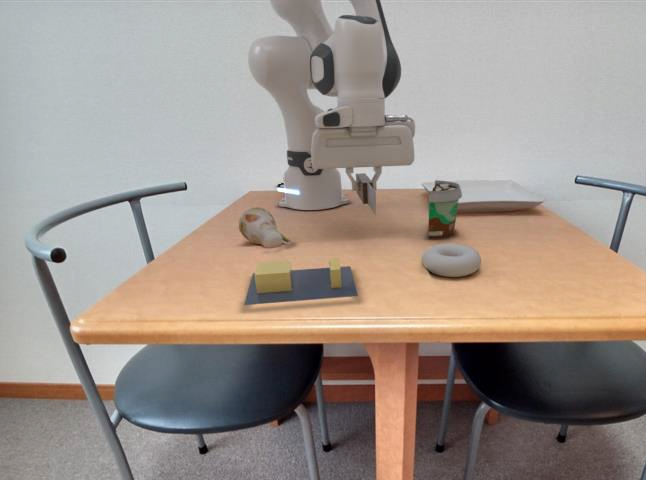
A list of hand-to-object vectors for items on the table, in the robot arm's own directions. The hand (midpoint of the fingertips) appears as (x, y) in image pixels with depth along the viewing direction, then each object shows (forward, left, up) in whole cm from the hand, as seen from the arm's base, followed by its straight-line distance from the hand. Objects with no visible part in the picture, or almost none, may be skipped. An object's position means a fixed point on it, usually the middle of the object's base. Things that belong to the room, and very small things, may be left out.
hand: (364, 189), depth 88 cm
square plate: (-23, +33, -10) cm, 42 cm away
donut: (+22, +12, -10) cm, 27 cm away
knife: (+5, 0, -1) cm, 5 cm away
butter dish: (+26, -13, -10) cm, 30 cm away
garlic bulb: (+3, -20, -10) cm, 22 cm away
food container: (+2, +17, -10) cm, 20 cm away
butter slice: (+26, -8, -9) cm, 28 cm away
